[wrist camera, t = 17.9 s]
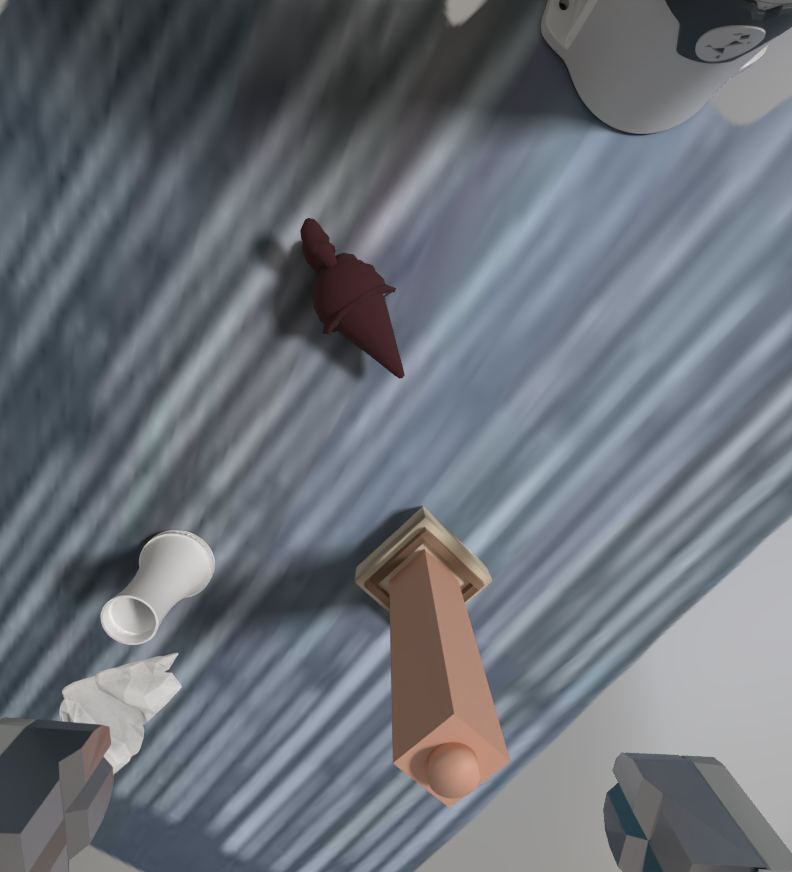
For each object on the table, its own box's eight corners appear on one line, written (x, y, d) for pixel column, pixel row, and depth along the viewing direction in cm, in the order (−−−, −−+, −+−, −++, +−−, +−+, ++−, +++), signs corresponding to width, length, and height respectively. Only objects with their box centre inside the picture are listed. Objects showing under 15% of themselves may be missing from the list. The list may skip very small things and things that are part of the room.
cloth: (146, 614, 51) (136, 627, 49) (234, 691, 54) (228, 707, 52) (-3, 740, 55) (-19, 758, 53) (87, 807, 58) (75, 826, 55)
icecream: (447, 348, 38) (344, 187, 36) (374, 398, 37) (264, 235, 35) (426, 360, 45) (338, 225, 43) (364, 402, 44) (271, 266, 42)
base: (356, 566, 50) (354, 586, 46) (422, 505, 48) (426, 521, 45) (420, 623, 52) (423, 646, 48) (486, 566, 50) (494, 585, 46)
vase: (182, 605, 50) (134, 673, 41) (128, 559, 49) (65, 618, 39) (230, 563, 49) (192, 622, 40) (176, 515, 48) (124, 564, 38)
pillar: (389, 580, 47) (393, 779, 27) (424, 549, 46) (456, 728, 26) (422, 610, 48) (451, 825, 28) (458, 580, 47) (514, 777, 27)
